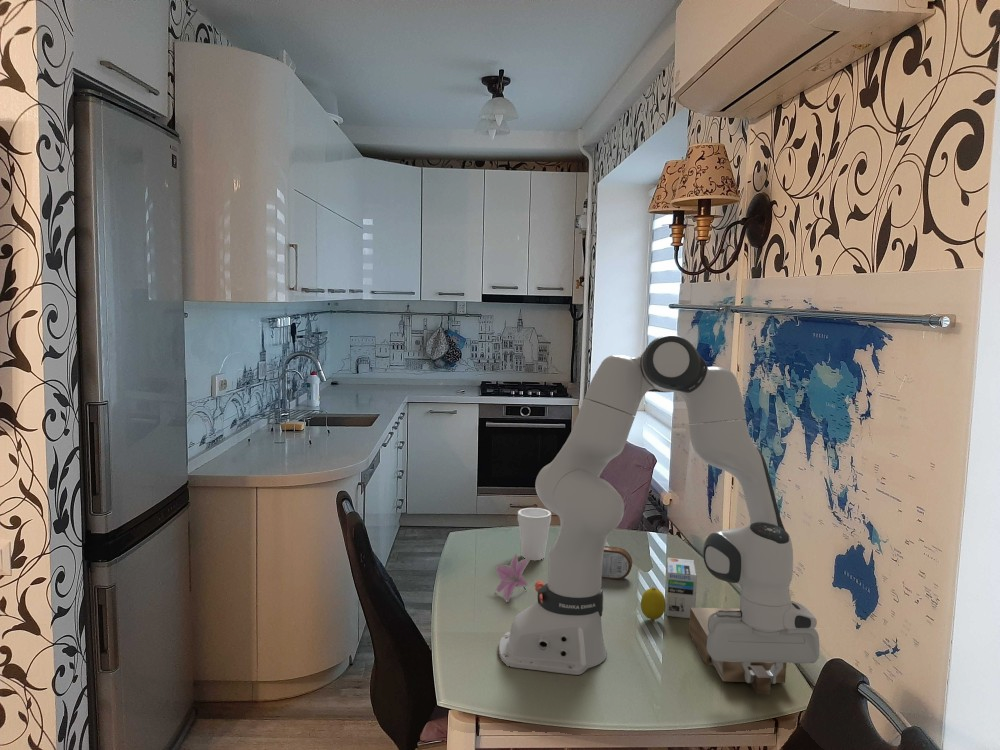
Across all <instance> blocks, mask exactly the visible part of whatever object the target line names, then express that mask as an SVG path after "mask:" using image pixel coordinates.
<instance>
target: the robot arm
mask: <svg viewBox="0 0 1000 750" xmlns="http://www.w3.org/2000/svg"><path fill="white" fill-rule="evenodd" d="M737 379H738V378H737V377H736V375H735V374H734V372H732V371H731V370H729V369H727V368H724V367H720V366H708V364H707V362H706V361H705V359H704V358H703V357H702V356H701V354H700V353H699V351H698V350H697V349H696V347H695V346H694V345H693V344H692V343H691V342H690V341H689V340H688V339H686V338H685V337H683V336H680V335H677V334H664V335H661V336H657V337H656V338H654V339H653V340H652V341H651V342H649V344H648V345H647V346H646V348H645V349H644V351H643V352H642V354H640V355H639V356H636V357H630V356H628V355H623V354H614V355H609V356H607V357H605V358H604V359H603V360H602V361H601V363H600V365H599V366H598V368H597V369H596V372H595V373H594V375H593V377H592V379H591V381H590V383H589V386H588V388H587V389H586V392H585V396H584V398H583V401H582V403H581V406H580V408H579V411H578V414H577V415H576V419H575V421H574V425H573V426H572V429H571V432H570V433H569V435H568V437H567V439H566V441H565V443H564V444H563V445H562V447H561V449H560V450H559V452H557V454H556V456H555V457H554V459H552V461H551V462H550V463H548V464H546V465H545V466H543V467H542V468H541V469H540V470H539V472H538V474H537V476H536V479H535V484H534V486H535V491H536V495H537V497H538V498H539V499H540V501H541V503H542V504H543V505H544V507H545V508H546V510H548V511H550V512H551V513H553V514H554V515H556V516H557V517H558V518H559V521H560V525H559V527H560V528H559V532H558V535H557V539H556V541H555V542H554V543H552V545H551V546H550V548H549V550H548V566H547V568H548V569H547V583H544V581H542V580H536V582H535V584H534V587H535V588H534V589H535V591H536V592H537V601H535V602H534V603H532V604H531V605H529V606H528V607H526V608H524V609H523V610H521V611H520V612H518V613H517V614H516V615H515V617H514V618H513V621H512V623H511V628H510V631H507V632H505V633H504V634H503V635H502V636H501V637H500V640H499V644H498V655H499V654H500V656H499V658H500V657H501V659H502V660H501V659H500V660H501V662H502V661H503V662H504V663H505V664H506V665H505V664H504V663H503V662H502V663H503V664H504V665H505V666H506V667H509V666H510V668H516V669H526V670H534V671H540V672H541V671H542V672H551V673H557V674H565V675H575V676H577V675H581V674H583V673H585V672H586V671H587V670H588V669H590V668H593V667H596V666H598V665H600V664H601V663H603V662H604V661H605V660H606V658H607V655H608V653H607V649H606V645H605V642H604V636H603V628H602V616H603V611H604V591H603V587H602V578H601V577H602V559H603V552H604V548H605V546H606V543H607V540H608V538H609V535H610V534H611V532H613V531H614V530H615V529H616V528H617V527H618V526H619V525H620V524H621V522H622V520H623V518H624V513H625V502H624V499H623V498H622V496H621V494H620V493H619V492H618V491H617V490H616V489H615V487H613V485H612V484H611V483H610V482H609V481H607V480H605V479H604V478H601V477H600V476H601V474H602V473H603V471H604V469H606V467H607V465H608V464H609V463H610V462H611V461H612V460H613V459H614V458H616V457H618V456H620V455H621V454H622V452H623V451H624V448H625V446H626V443H627V440H628V438H629V434H630V432H631V431H632V427H633V425H634V421H635V418H636V415H637V412H638V410H639V407H640V405H641V403H642V400H643V398H644V396H645V395H646V394H647V393H648V392H649V393H650V392H651V393H653V392H654V393H674V392H675V393H677V394H679V395H680V396H681V397H682V399H684V400H683V401H684V402H685V405H686V408H687V409H686V410H687V416H688V425H689V427H688V428H689V429H688V430H689V435H690V442H691V445H692V449H693V451H694V454H696V455H697V457H698V458H699V459H701V460H702V461H703V462H704V463H706V464H707V465H709V466H711V467H713V468H716V469H719V470H722V471H724V472H727V473H729V474H731V475H732V476H734V477H735V478H736V479H737V480H738V482H739V484H740V485H741V488H742V492H743V496H744V499H745V503H746V507H747V511H748V516H749V525H747V526H744V527H738V528H728V529H723V530H719V531H715V532H712V533H710V534H709V535H708V536H707V538H706V539H705V541H704V544H703V548H702V556H703V557H702V558H703V563H704V565H705V568H706V569H707V571H708V572H709V573H710V574H711V575H712V576H713V577H715V578H716V579H718V580H721V581H724V582H727V583H731V584H738V585H739V586H740V596H739V598H740V600H739V609H740V611H723V610H719V611H716V613H713V614H711V615H710V616H709V618H708V630H709V633H708V638H707V646H706V648H707V652H708V654H709V655H710V657H711V658H712V659H713V660H714V661H733V662H740V663H741V665H742V667H743V668H744V670H745V680H746V682H745V683H747V684H751V683H755V679H756V675H755V673H754V672H753V670H749V669H748V667H750V666H751V662H773V666H772V667H771V669H770V670H769V671H766V672H767V673H768V675H769V676H770V678H771V684H776V683H777V682H776V676H777V675H778V673H779V672H780V671H781V669H782V668H783V663H786V664H787V663H788V664H815V663H816V662H817V661H818V660H819V658H820V652H821V651H820V647H821V646H820V635H819V633H818V631H817V629H815V628H817V625H818V623H817V622H818V621H817V619H816V617H815V615H814V614H813V613H812V612H811V611H810V609H808V607H806V606H804V605H803V604H801V603H800V602H796V601H793V600H792V599H791V598H792V597H791V593H790V586H791V583H792V580H793V576H794V575H793V572H794V571H793V570H794V550H793V543H792V539H791V537H790V535H789V533H788V532H787V531H786V528H785V526H784V525H783V521H782V518H781V514H780V511H779V506H778V502H777V499H776V495H775V491H774V487H773V483H772V480H771V477H770V472H769V467H768V465H767V463H766V460H765V458H764V457H765V456H764V454H763V453H762V451H761V450H760V449H759V448H758V447H756V445H755V444H754V442H753V439H752V437H751V434H750V432H749V429H748V424H747V418H746V417H747V416H746V410H745V405H744V400H743V396H742V392H741V388H740V385H739V382H738V380H737ZM714 615H717V616H714ZM505 638H507V639H505ZM747 666H748V667H747ZM771 684H770V685H771Z"/></svg>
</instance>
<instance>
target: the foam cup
mask: <svg viewBox="0 0 1000 750" xmlns="http://www.w3.org/2000/svg"><path fill="white" fill-rule="evenodd" d="M517 522H518V528H519V537H520V547H521V549H520V550H521V555H522V556H523V557H524V558H530V560H539V561H542V560H544V559H545V554H546V549H547V543H548V537H549V531H550V526H551V525H550V524H551V522H552V511H550V510H549V509H547V508H546V509H545V508H541V507H526V508H525V507H524V508H522V509H519V510H517ZM522 556H521V557H522ZM523 557H522V558H523ZM524 558H523V559H524ZM543 558H544V559H543ZM541 559H542V560H541Z"/></svg>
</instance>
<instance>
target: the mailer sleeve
mask: <svg viewBox="0 0 1000 750" xmlns="http://www.w3.org/2000/svg"><path fill="white" fill-rule="evenodd" d="M719 610H723V611H740V608H731V607H730V608H727V607H725V608H724V607H723V608H721V607H720V608H718V607H695V608H690V618H689V629H688V634H689V636H690V637H691V639H693V640H692V641H693V643H694V646H695V647H696V649H697V651H698V653H699V654H700V656H701V658H702V659H703V660H702V661H703V662H704V664H705V665H706V666H714V665H713V663H712V661H711V659H710V655H709V654H708V652H707V648H706V646H707V638H708V633H709V630H708V618H709V616H710V615H711V614H713V613H716V611H719ZM714 616H717V615H714Z"/></svg>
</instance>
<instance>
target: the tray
mask: <svg viewBox="0 0 1000 750" xmlns="http://www.w3.org/2000/svg"><path fill="white" fill-rule="evenodd" d="M710 659H711V661H712V663H713V665H712V666H714V668H715V669H716V672H717V673H718V675H719V677H720V678H721V680H722V682H739V683H740V682H741V683H742V682H745V683H747V682H746V680H745V670H744V668H743V667H742V665H741V663H740V662H733V661H714V660H713V659H712V658H711V657H710ZM772 666H773V662H751V666H750V667H748V666H747V667H748V669H749V670H753V672H754V673H755V675H756V679H755V683H750V684H751V686H752V688H753V689H754V691H755V692H756V693H757V694H771V678H770V676H769V675H768V673H767V672H766V671H769V670H770V669H771V667H772ZM786 674H787V663H783V668H782V669H781V671H780V672H779V673H778V675H777V676H776V683H779V684H780V683H783V684H785V683H786Z"/></svg>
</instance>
